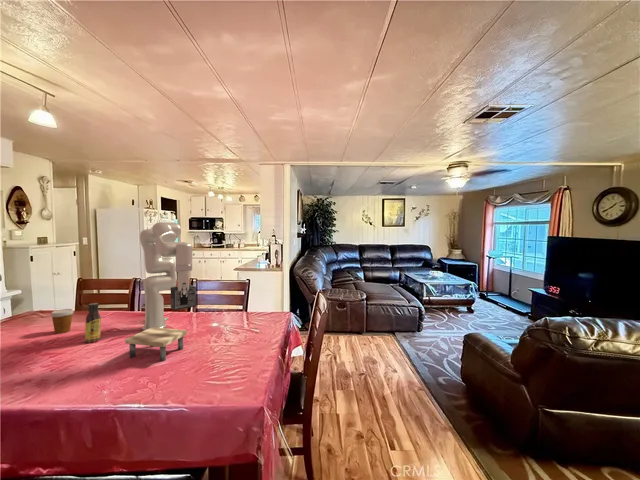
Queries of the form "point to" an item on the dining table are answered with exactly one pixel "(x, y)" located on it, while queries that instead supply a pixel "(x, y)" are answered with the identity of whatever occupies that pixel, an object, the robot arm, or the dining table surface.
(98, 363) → the dining table surface
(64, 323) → the disposable coffee cup
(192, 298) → the small box
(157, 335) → the peg shelf
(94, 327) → the sauce bottle
